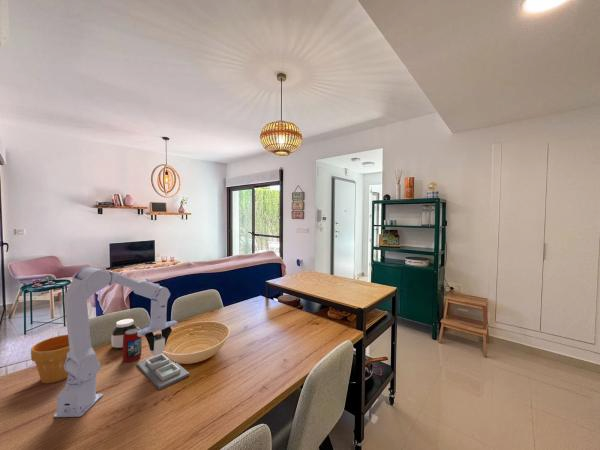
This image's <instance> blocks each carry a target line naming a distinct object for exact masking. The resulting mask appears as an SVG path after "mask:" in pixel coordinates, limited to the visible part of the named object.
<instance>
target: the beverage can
mask: <svg viewBox="0 0 600 450" xmlns="http://www.w3.org/2000/svg"><path fill="white" fill-rule="evenodd" d="M138 328H139V327H138ZM138 328H134V329H129V330H127V331H126V332H125V334H124V336H123V349H122V360H123V361H124V362H134V361H136V360H138V359H139V358H140V357H141V356H142V347H143V346H142V343H143V342H142V341H143V340H142V339H143V335H142V336H141V337H139V336H137V334H138V331H139V330H141V328H140V329H138Z"/></svg>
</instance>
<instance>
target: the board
mask: <svg viewBox="0 0 600 450" xmlns="http://www.w3.org/2000/svg"><path fill="white" fill-rule="evenodd" d="M136 366H137V367H138V368H139V370H141V372H142V373H143V374H144V375H145V376H146V377H147V378H148V379H149V381H151V382H152V384H153V385H154V386H155V387H156V388H157V389H158V390H162V389H164V388H167V387H168V386H170V385H172V384H174V383H176V382H178V381H181V380H183V379H185V378H187V377H189V376H190V372H189V371H188V370H187V369H185V368H184V367H183V366H181V365H180V363H178V362H177V363H175V362H173V361H171V360H170V359H169V358H168V357H166V356H165V355H164V354H163V353H162V354H159V355H156V356H152V357H149V358H147V359H145V360H142V361H139V362H137V363H136Z"/></svg>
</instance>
